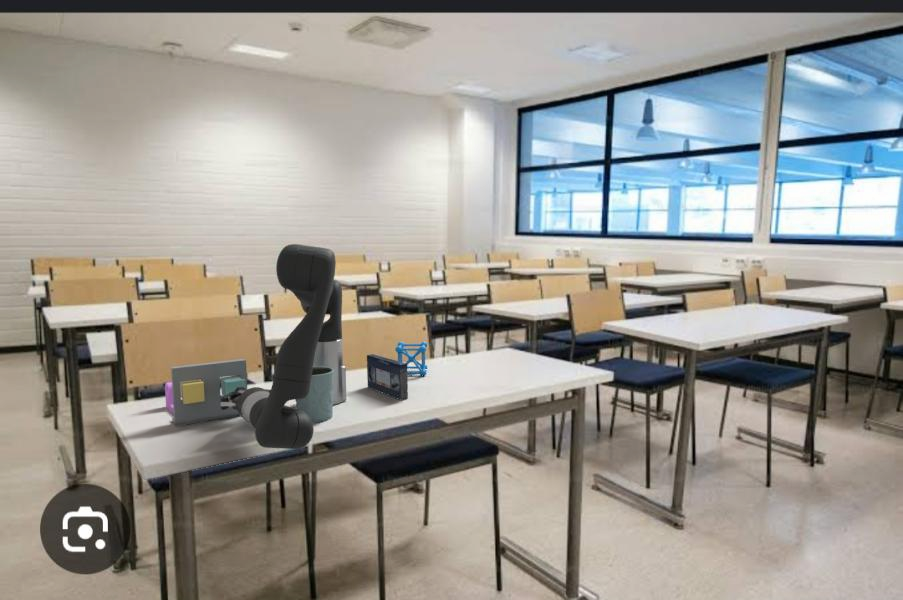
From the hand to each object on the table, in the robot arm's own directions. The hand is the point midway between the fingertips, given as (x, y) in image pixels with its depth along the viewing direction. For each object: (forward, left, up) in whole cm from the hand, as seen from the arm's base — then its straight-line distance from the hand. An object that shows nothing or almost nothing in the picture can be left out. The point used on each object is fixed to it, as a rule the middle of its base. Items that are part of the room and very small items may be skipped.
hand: (239, 391), depth 141 cm
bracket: (+9, -22, -9) cm, 25 cm away
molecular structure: (-61, -25, -9) cm, 66 cm away
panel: (+5, -11, -9) cm, 15 cm away
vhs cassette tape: (-43, -8, -9) cm, 45 cm away
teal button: (0, -6, -3) cm, 7 cm away
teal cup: (-17, +3, -9) cm, 19 cm away
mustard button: (+9, -9, -3) cm, 13 cm away
